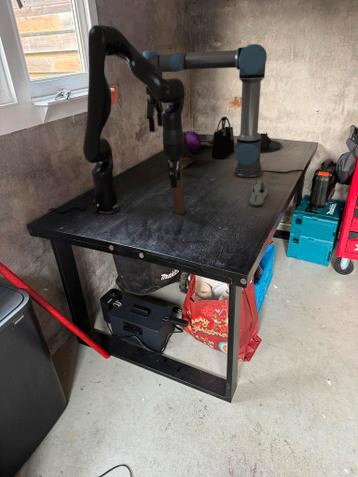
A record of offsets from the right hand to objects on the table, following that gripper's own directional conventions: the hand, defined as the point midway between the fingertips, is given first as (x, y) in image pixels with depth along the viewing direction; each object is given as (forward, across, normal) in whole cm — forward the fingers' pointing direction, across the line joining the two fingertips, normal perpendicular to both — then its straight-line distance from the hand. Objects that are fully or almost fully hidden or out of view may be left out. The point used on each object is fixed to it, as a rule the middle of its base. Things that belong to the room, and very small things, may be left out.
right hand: (156, 128), depth 177 cm
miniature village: (+28, -74, +50) cm, 93 cm away
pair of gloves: (+28, -78, +14) cm, 84 cm away
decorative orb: (+28, -53, +5) cm, 60 cm away
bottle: (+28, +42, +23) cm, 56 cm away
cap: (+7, +42, +23) cm, 48 cm away
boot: (+28, -29, +8) cm, 41 cm away
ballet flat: (+28, +20, +57) cm, 67 cm away
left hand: (+8, +59, +27) cm, 65 cm away
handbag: (+28, -49, +29) cm, 64 cm away
